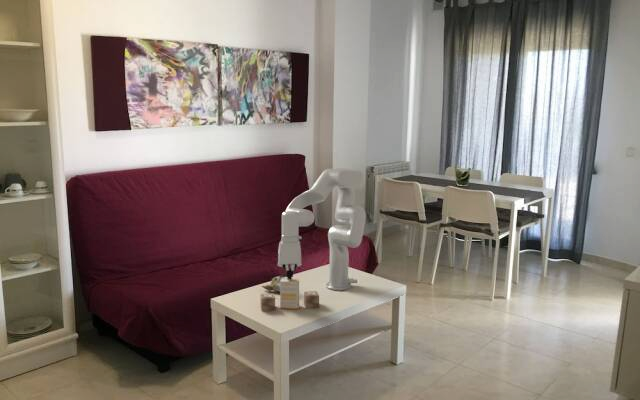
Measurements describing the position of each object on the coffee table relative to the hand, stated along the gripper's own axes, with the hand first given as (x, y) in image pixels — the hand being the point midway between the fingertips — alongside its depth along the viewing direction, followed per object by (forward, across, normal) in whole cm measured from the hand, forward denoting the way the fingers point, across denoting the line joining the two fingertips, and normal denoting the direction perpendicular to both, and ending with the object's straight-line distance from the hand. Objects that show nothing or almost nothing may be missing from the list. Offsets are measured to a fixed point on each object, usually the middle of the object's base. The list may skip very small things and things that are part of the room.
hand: (289, 278), depth 245 cm
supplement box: (+14, 0, 0) cm, 14 cm away
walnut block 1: (+14, +10, 0) cm, 17 cm away
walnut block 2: (+14, -10, 0) cm, 17 cm away
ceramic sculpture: (+14, +2, -22) cm, 26 cm away
